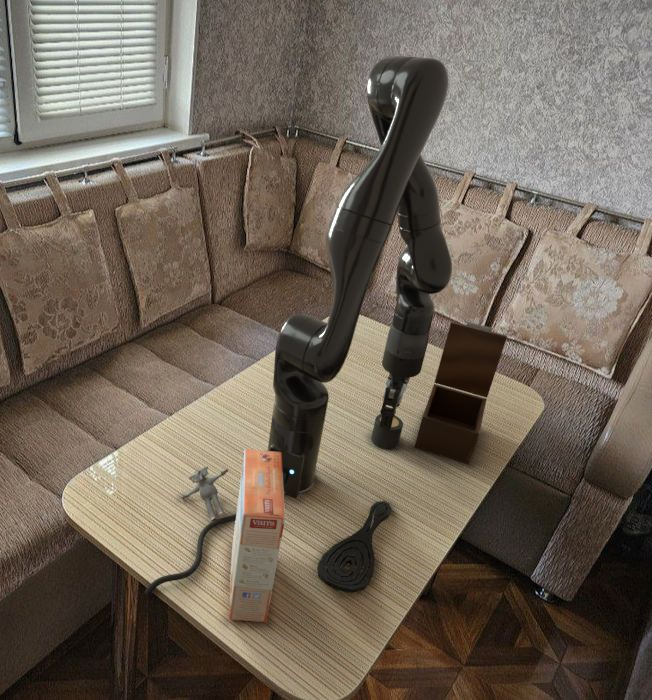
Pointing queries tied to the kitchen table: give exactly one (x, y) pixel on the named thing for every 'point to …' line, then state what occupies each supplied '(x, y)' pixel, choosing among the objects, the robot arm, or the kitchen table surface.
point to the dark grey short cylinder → (387, 433)
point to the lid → (470, 358)
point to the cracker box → (256, 535)
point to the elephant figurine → (207, 490)
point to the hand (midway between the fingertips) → (389, 416)
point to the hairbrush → (353, 555)
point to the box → (451, 424)
